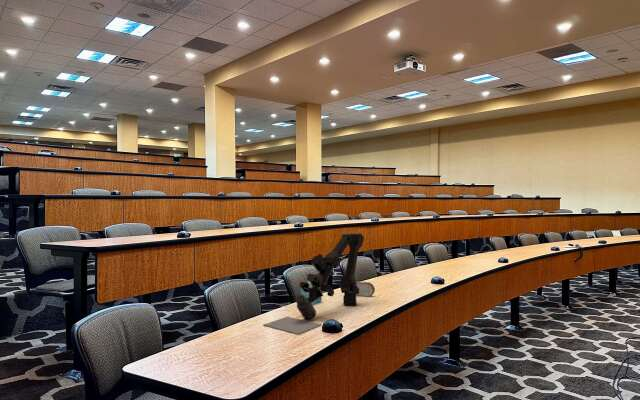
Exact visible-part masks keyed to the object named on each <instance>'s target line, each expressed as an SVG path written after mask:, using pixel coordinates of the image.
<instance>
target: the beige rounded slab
mask: <svg viewBox="0 0 640 400" xmlns="http://www.w3.org/2000/svg"><path fill="white" fill-rule="evenodd" d="M356 285H357V287H358V288H359V293H358V294H356V297H363V298H365V297H366V298H369V297H372V296H373V294H375V290H376V288H375V285H374V284H373V283H371V282H370V281H357V280H356Z"/></svg>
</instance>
